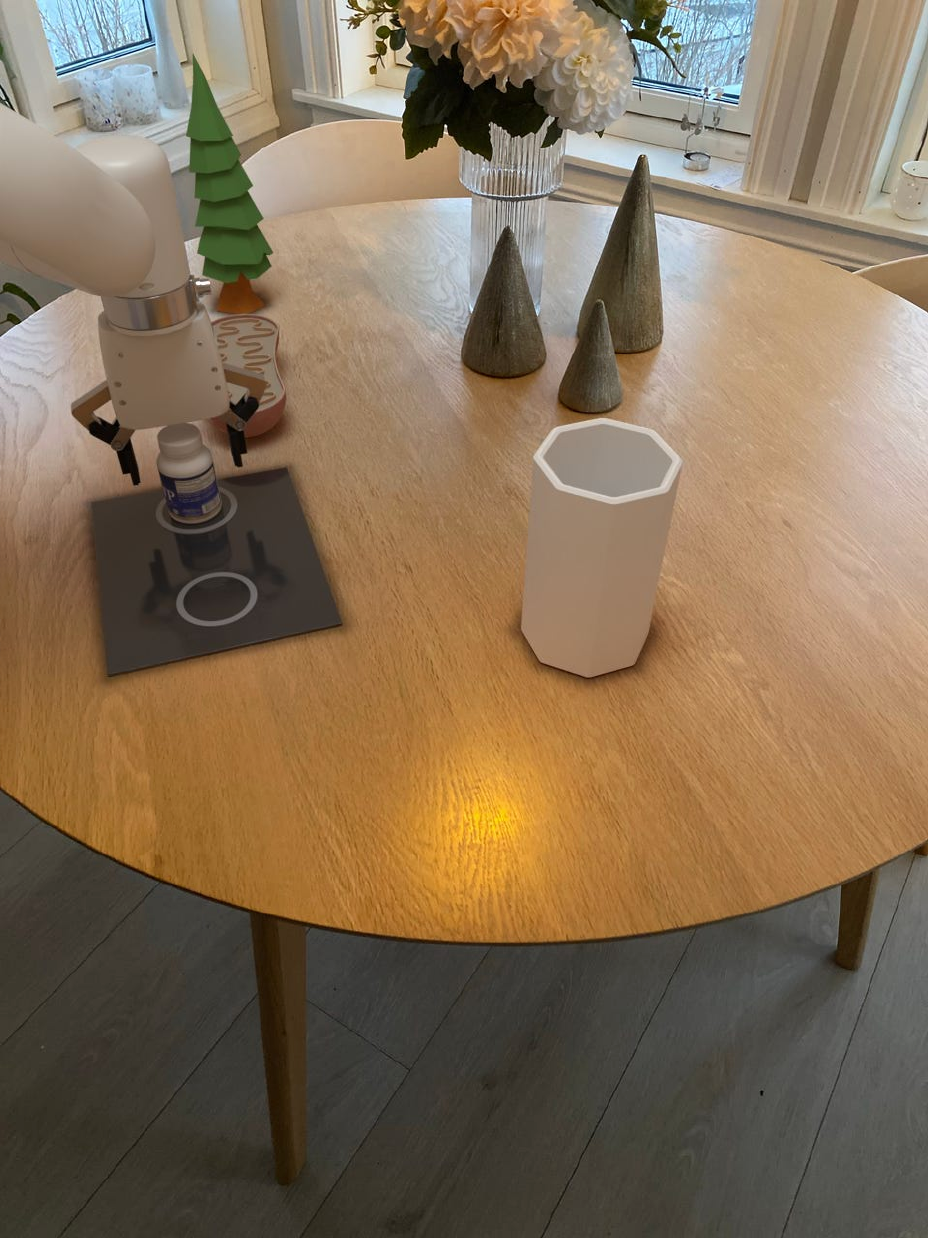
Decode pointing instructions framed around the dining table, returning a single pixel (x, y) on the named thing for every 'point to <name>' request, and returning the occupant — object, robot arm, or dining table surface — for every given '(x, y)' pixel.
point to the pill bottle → (187, 474)
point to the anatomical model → (252, 365)
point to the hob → (207, 574)
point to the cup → (596, 543)
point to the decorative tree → (224, 205)
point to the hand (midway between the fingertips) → (187, 468)
